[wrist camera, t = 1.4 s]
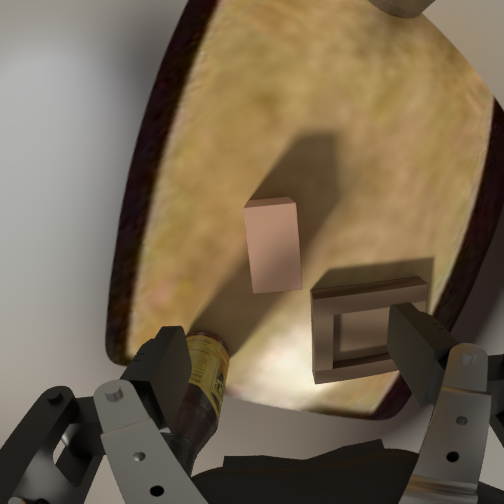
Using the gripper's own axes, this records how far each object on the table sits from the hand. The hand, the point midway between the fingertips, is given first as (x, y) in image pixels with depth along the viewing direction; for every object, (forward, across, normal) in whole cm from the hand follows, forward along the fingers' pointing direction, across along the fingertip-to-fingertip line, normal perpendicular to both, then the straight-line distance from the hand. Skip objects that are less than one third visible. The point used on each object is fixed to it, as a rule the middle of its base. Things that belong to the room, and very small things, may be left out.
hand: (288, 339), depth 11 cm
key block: (+20, 0, 0) cm, 20 cm away
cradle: (+20, -10, +12) cm, 25 cm away
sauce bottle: (+20, +9, +13) cm, 26 cm away
